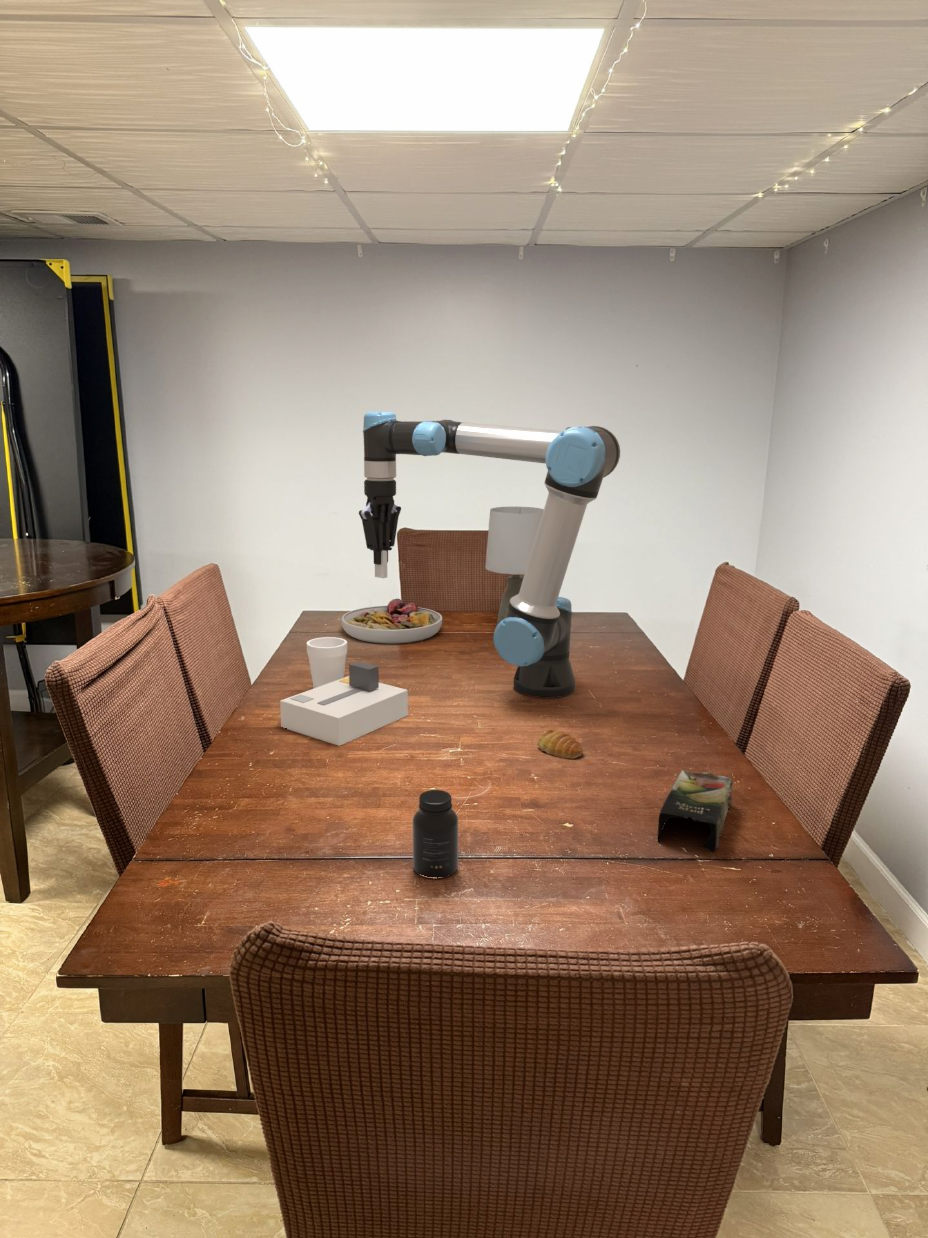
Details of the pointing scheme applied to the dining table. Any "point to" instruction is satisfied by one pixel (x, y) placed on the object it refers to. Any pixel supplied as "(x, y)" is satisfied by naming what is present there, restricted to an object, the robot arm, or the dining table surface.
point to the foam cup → (326, 659)
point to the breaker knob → (363, 676)
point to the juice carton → (699, 802)
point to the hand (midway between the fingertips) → (381, 577)
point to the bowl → (392, 623)
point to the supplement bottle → (435, 835)
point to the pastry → (559, 744)
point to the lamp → (511, 546)
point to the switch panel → (343, 710)
